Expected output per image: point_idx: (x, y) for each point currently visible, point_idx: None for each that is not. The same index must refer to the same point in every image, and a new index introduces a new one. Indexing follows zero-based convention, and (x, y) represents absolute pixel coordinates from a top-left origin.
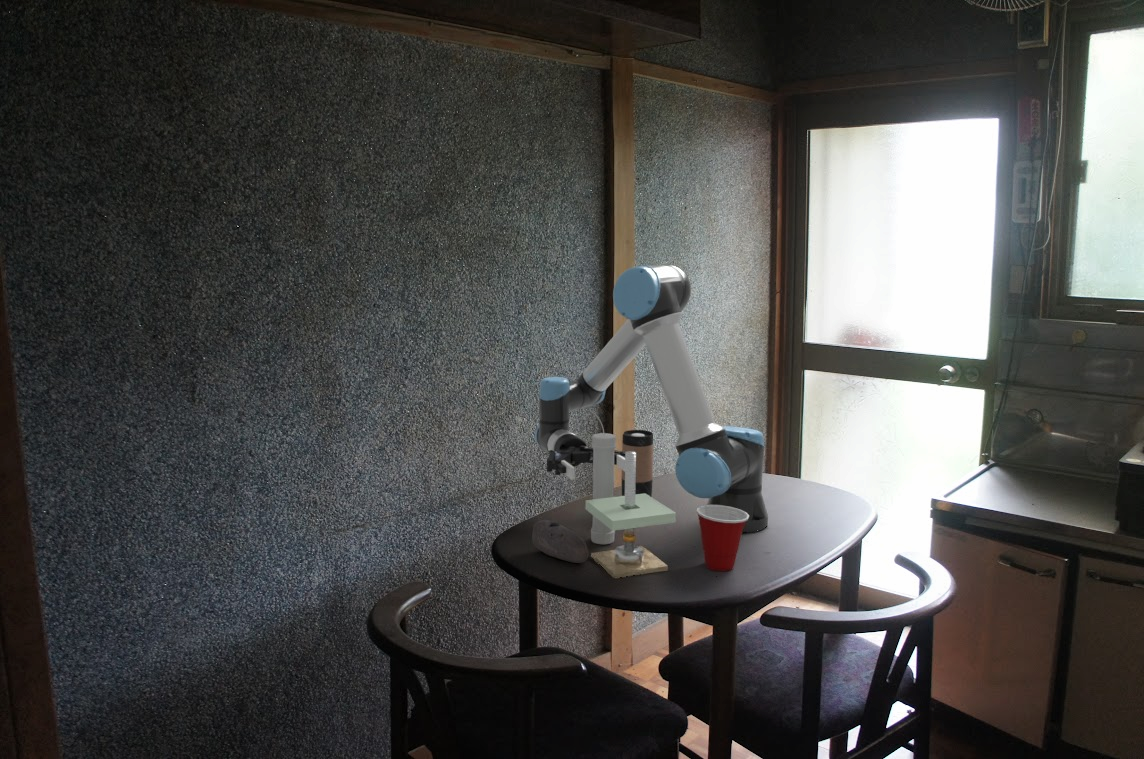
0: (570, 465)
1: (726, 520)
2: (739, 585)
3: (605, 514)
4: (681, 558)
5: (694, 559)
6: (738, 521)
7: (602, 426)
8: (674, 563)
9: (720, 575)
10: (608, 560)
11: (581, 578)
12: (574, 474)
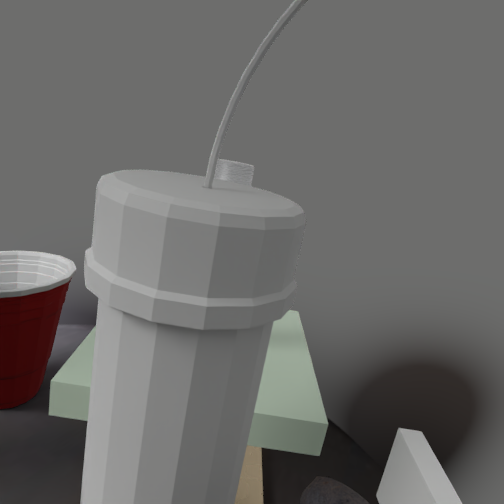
0: (432, 478)
1: (56, 255)
2: (68, 340)
3: (300, 334)
4: (27, 452)
5: (7, 434)
6: (31, 253)
7: (233, 105)
8: (74, 440)
9: (53, 368)
10: (239, 495)
11: (330, 474)
12: (388, 466)
